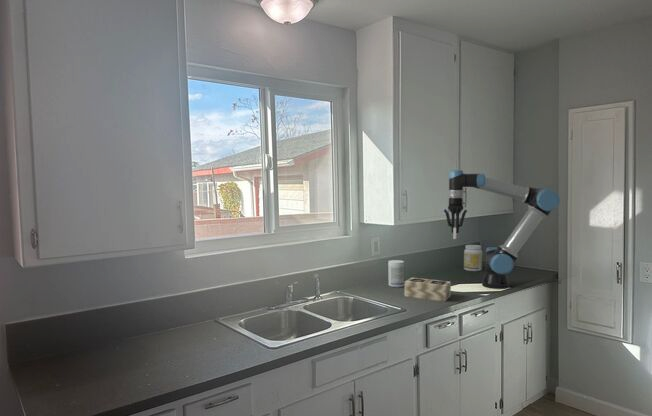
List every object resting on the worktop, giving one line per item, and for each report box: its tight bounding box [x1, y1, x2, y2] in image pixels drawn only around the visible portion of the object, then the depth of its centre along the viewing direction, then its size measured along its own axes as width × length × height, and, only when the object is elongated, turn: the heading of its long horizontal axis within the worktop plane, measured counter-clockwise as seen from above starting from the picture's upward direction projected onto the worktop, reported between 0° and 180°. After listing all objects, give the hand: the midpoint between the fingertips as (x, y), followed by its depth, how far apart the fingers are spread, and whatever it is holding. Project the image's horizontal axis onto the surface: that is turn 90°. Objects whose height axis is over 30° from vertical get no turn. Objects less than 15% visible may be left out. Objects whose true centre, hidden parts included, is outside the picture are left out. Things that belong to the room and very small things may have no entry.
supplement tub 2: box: [463, 244, 483, 272], centre depth 323 cm, size 12×12×17 cm
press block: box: [403, 277, 452, 302], centre depth 251 cm, size 22×12×8 cm, turn 62°
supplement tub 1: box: [387, 259, 406, 288], centre depth 275 cm, size 10×10×15 cm
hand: (455, 238), depth 265 cm, fingers closed
